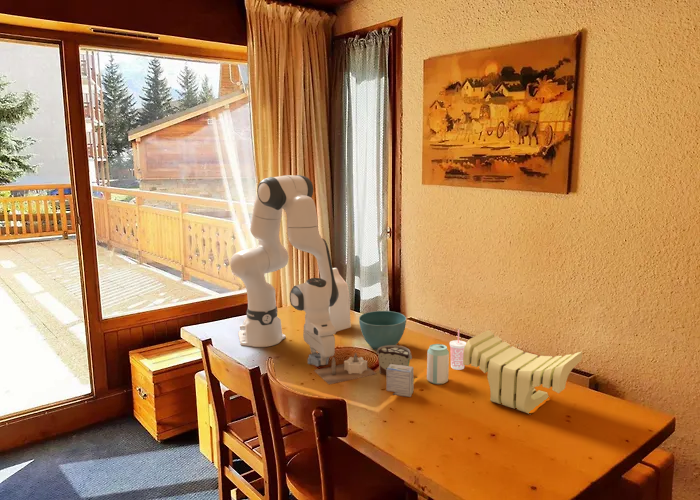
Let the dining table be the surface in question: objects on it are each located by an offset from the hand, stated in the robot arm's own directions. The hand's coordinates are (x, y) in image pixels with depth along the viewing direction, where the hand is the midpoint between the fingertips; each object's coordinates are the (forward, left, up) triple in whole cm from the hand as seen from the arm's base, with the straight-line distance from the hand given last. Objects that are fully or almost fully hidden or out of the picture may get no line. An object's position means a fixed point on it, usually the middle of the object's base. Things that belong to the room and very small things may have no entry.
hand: (318, 360), depth 196 cm
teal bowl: (-4, +29, -2) cm, 29 cm away
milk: (-36, +22, -2) cm, 42 cm away
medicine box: (+33, +14, -2) cm, 36 cm away
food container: (+21, +20, -2) cm, 29 cm away
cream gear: (+12, +9, 0) cm, 15 cm away
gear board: (+12, +4, -2) cm, 13 cm away
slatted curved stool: (+55, +43, -2) cm, 70 cm away
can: (+31, +30, -2) cm, 43 cm away
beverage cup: (+25, +43, -2) cm, 50 cm away
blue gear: (0, 0, -2) cm, 2 cm away
